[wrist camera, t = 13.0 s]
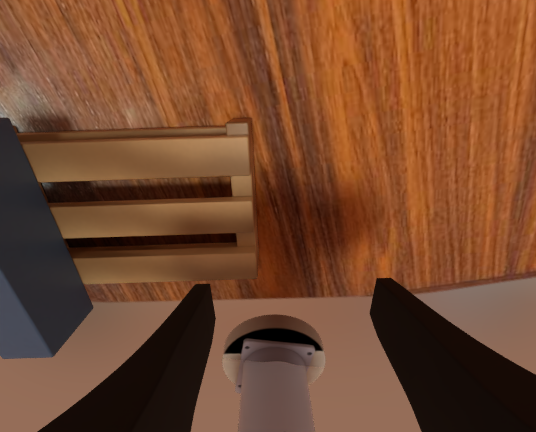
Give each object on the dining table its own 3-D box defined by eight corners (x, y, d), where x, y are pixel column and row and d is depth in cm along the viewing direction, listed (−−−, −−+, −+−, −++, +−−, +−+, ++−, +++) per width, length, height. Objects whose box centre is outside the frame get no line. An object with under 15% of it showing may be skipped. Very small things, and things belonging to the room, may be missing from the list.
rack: (258, 252, 20) (257, 286, 16) (59, 258, 20) (12, 294, 16) (251, 117, 15) (247, 123, 12) (-4, 126, 15) (-86, 134, 12)
